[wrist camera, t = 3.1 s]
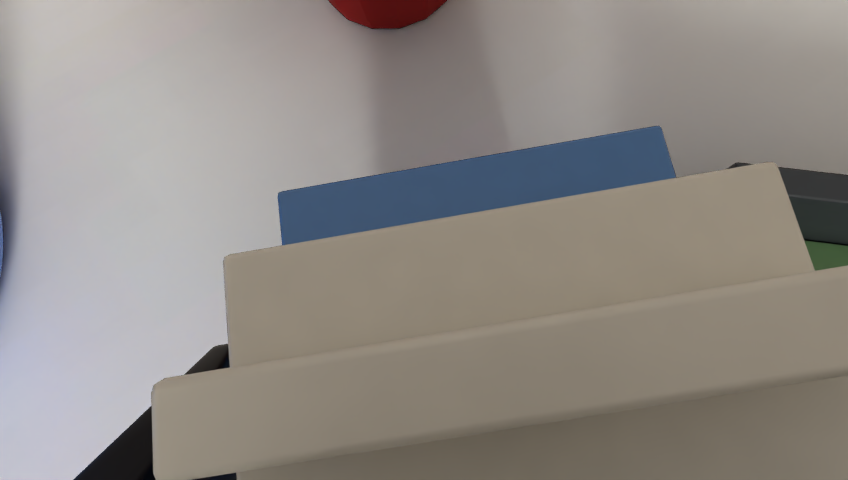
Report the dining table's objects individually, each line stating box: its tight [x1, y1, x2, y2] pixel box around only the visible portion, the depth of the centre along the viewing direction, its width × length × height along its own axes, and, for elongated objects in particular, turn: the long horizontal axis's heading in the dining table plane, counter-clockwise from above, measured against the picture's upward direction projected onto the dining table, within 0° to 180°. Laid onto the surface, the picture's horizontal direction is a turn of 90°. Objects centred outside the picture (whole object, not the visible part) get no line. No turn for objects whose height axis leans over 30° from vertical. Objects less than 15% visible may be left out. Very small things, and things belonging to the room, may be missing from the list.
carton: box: [151, 126, 848, 480], centre depth 9 cm, size 6×6×13 cm
